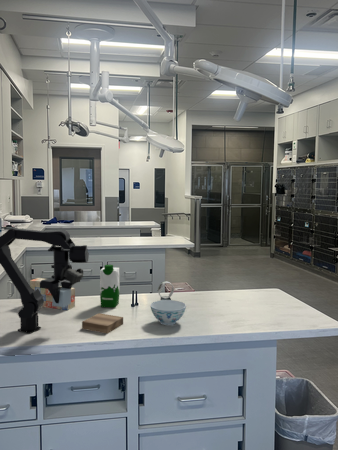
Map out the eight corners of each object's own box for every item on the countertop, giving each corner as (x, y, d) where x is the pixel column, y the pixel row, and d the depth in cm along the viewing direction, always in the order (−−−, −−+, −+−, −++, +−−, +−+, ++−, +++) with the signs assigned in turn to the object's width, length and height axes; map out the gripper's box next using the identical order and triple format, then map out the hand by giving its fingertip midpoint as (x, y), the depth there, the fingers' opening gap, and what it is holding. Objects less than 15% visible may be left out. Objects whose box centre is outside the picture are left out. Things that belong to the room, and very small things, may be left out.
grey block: (62, 307, 155) (62, 291, 155) (52, 305, 157) (52, 290, 157) (71, 303, 160) (70, 288, 159) (60, 302, 162) (60, 287, 161)
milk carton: (98, 307, 190) (98, 266, 188) (103, 302, 199) (103, 262, 197) (116, 308, 189) (116, 266, 187) (121, 303, 198) (121, 263, 196)
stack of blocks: (75, 307, 191) (75, 281, 190) (67, 310, 185) (67, 284, 184) (38, 301, 199) (38, 277, 198) (30, 305, 193) (29, 280, 192)
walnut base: (107, 333, 157) (107, 326, 157) (82, 328, 162) (82, 321, 161) (123, 324, 168) (123, 317, 168) (98, 319, 173) (98, 313, 172)
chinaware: (145, 318, 175) (145, 301, 174) (177, 315, 180) (178, 298, 179) (157, 330, 161) (157, 311, 160) (191, 326, 166) (191, 308, 166)
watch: (156, 302, 199) (156, 280, 198) (172, 302, 201) (172, 280, 200) (158, 306, 194) (158, 283, 193) (174, 305, 195) (174, 283, 194)
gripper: (62, 268, 145) (63, 310, 147) (92, 260, 162) (92, 298, 164) (38, 265, 150) (39, 306, 151) (69, 258, 167) (70, 294, 168)
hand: (61, 301), depth 158 cm, fingers closed on grey block, 5 cm apart
